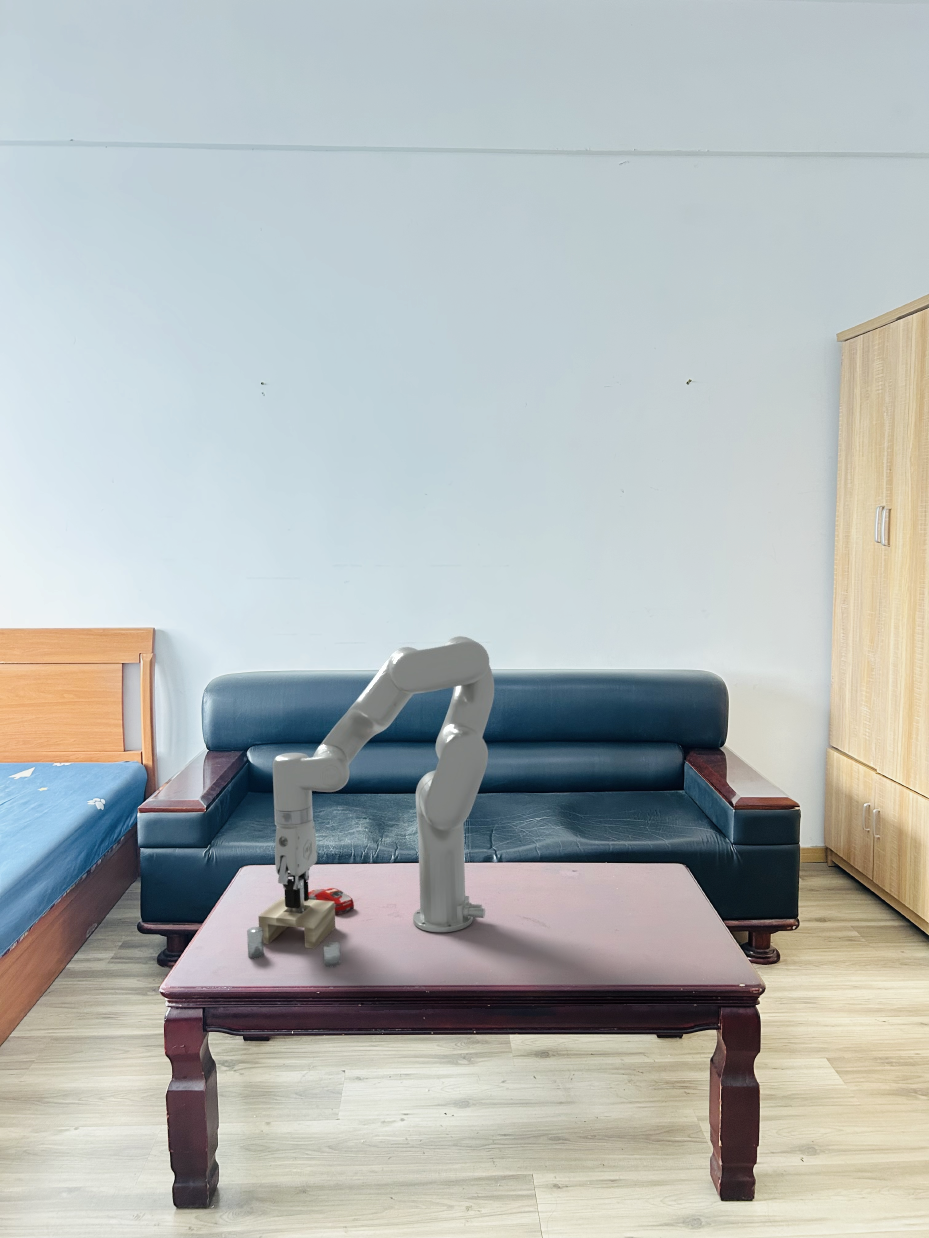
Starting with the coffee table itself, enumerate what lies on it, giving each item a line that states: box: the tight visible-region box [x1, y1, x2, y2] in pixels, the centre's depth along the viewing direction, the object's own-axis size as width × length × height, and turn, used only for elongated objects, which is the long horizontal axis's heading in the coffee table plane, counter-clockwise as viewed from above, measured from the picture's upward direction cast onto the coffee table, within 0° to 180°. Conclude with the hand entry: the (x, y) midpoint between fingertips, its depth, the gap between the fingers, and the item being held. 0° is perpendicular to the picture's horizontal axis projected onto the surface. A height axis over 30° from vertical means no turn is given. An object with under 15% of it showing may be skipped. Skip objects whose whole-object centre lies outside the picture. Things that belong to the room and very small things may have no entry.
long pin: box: [289, 877, 305, 914], centre depth 176 cm, size 3×3×8 cm
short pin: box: [323, 941, 341, 968], centre depth 164 cm, size 3×3×4 cm
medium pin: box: [246, 926, 265, 960], centre depth 168 cm, size 3×3×5 cm
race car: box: [309, 887, 355, 915], centre depth 191 cm, size 13×5×4 cm, turn 47°
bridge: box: [258, 896, 336, 949], centre depth 176 cm, size 12×10×6 cm
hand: (297, 902), depth 176 cm, fingers closed on long pin, 3 cm apart
